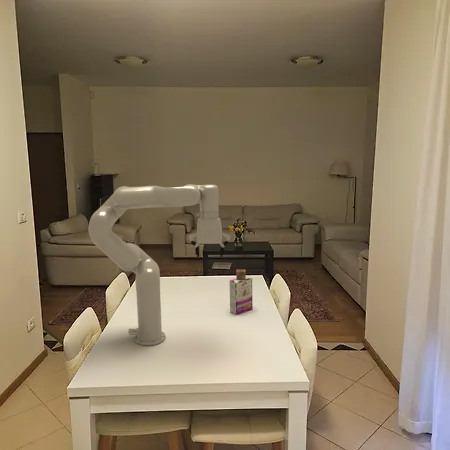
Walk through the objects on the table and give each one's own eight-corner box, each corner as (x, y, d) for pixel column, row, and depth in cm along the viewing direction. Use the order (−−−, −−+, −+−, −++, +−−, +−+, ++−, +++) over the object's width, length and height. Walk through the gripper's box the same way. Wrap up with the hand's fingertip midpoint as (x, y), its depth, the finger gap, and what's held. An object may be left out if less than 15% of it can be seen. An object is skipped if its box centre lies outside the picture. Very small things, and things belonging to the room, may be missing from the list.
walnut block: (236, 280, 193) (236, 272, 192) (236, 277, 197) (236, 269, 196) (245, 280, 192) (245, 272, 192) (245, 277, 197) (245, 269, 196)
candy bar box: (245, 306, 203) (245, 275, 200) (252, 309, 199) (252, 277, 196) (229, 312, 196) (229, 279, 193) (236, 315, 192) (236, 282, 189)
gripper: (186, 216, 160) (187, 258, 163) (230, 216, 159) (230, 258, 162) (189, 214, 167) (190, 254, 170) (230, 213, 167) (231, 254, 170)
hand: (209, 256), depth 166 cm, fingers open, 9 cm apart
